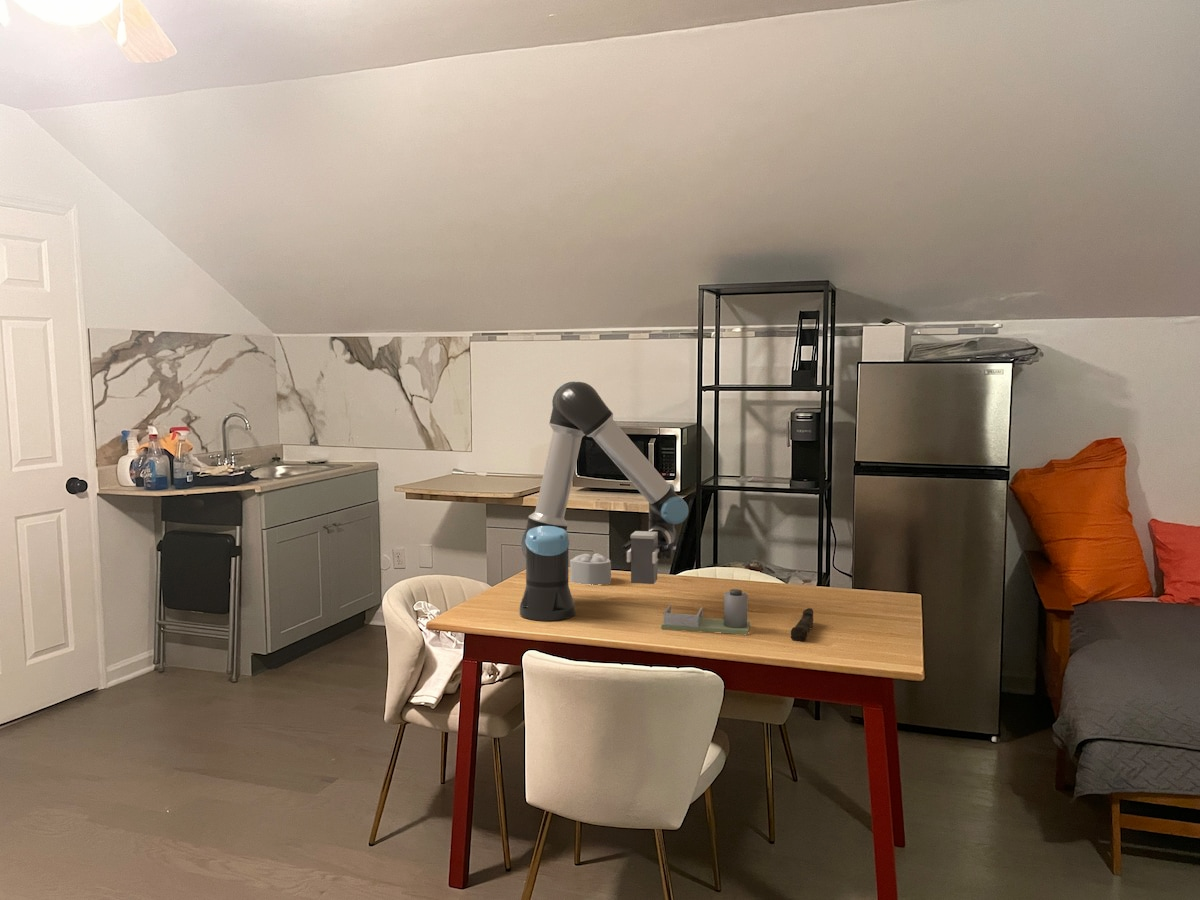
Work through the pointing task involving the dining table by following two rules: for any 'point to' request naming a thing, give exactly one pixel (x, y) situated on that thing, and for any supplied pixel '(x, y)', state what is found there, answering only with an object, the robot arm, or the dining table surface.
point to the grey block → (643, 557)
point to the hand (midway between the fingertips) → (640, 557)
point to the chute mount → (682, 618)
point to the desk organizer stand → (725, 616)
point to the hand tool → (803, 626)
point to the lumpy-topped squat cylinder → (590, 569)
